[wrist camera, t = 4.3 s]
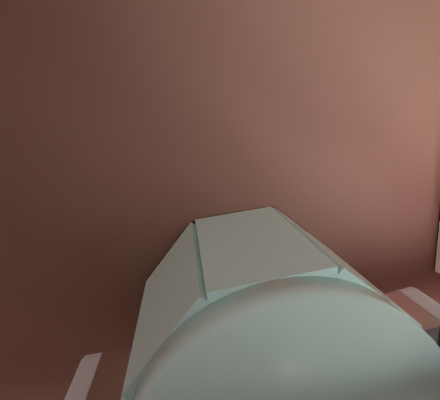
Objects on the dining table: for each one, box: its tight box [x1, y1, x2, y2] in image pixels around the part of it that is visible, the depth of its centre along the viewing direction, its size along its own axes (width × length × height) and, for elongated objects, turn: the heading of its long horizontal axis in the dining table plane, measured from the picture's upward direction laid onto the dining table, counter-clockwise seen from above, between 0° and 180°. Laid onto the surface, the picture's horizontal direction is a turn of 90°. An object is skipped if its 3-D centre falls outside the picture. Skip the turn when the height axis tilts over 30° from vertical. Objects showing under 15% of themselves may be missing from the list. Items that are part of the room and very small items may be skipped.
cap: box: [121, 207, 440, 400], centre depth 7 cm, size 6×6×5 cm
